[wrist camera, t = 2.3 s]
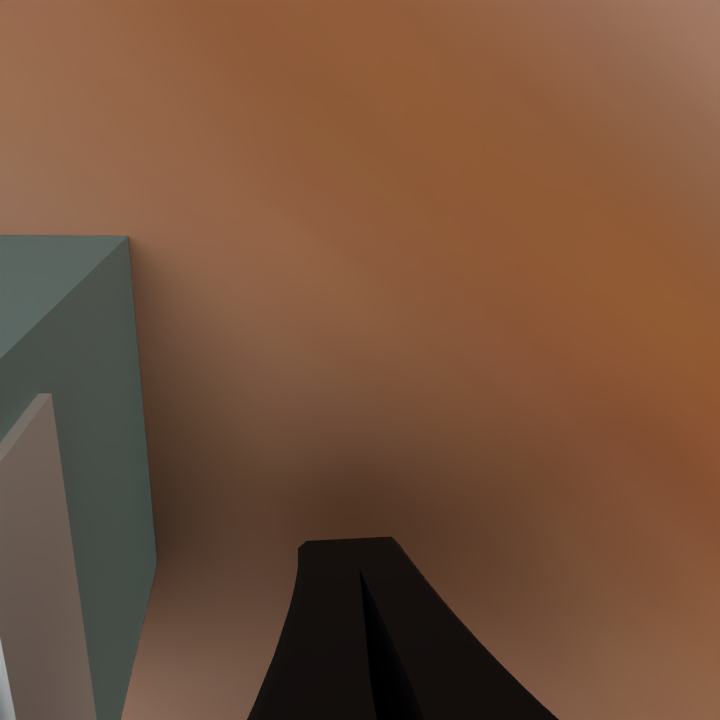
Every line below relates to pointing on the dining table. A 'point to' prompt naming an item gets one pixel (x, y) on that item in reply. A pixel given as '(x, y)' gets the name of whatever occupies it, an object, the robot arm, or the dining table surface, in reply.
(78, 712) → the slab
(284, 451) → the dining table surface
